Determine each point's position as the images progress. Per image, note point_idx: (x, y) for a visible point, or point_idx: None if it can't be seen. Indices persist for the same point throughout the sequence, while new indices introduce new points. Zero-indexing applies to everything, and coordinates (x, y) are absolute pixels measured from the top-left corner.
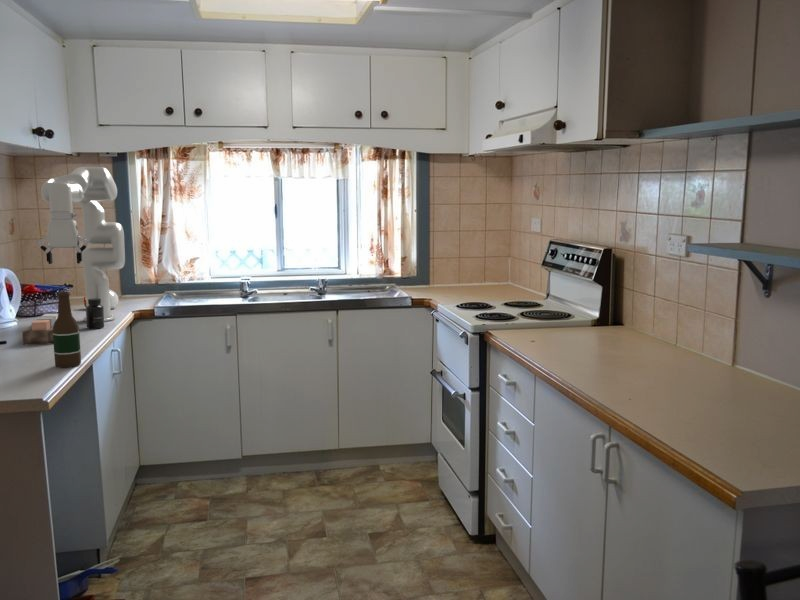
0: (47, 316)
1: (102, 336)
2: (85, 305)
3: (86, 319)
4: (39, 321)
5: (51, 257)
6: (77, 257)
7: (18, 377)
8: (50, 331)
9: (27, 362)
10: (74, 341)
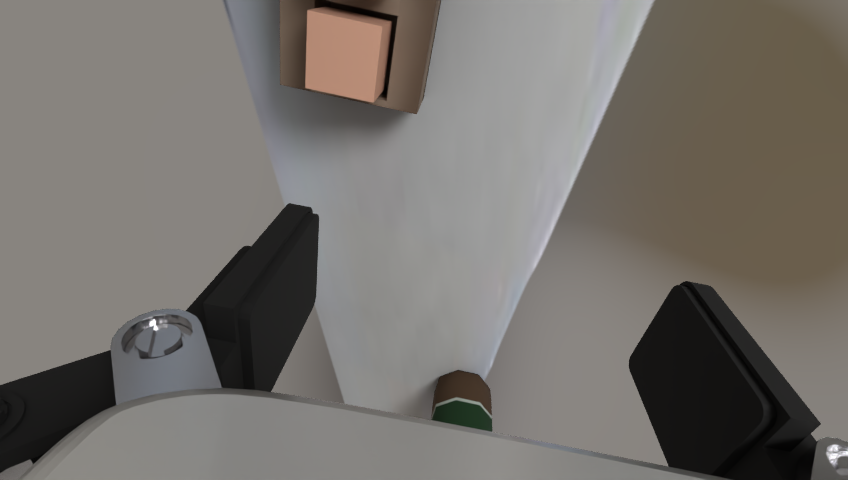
0: None
1: (632, 4)
2: None
3: None
4: (337, 65)
5: (285, 305)
6: (665, 437)
7: None
8: (398, 109)
9: (367, 329)
10: None
